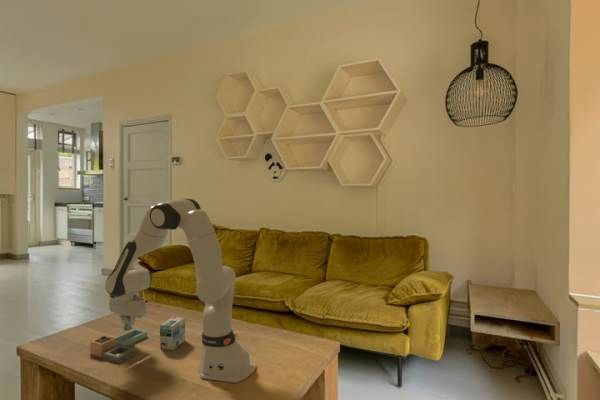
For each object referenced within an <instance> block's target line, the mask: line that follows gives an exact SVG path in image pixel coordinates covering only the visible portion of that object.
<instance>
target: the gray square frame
mask: <svg viewBox="0 0 600 400" xmlns="http://www.w3.org/2000/svg"><path fill="white" fill-rule="evenodd" d="M117 352H123V353H121V354H119V355H115V354H114V353H117ZM136 352H137V351H136V348H132V347H129V346H127V347H125V346H121V345H118V346H116V347H113V348H111V349H109V350H107V351H105V352H103V353H102V357H101V359H103V360H106V361H110V362H114V363H116V364H120V363H121V362H124V361H126V360H128V359H130V358H132V357H133V356H136V354H137V353H136Z"/></svg>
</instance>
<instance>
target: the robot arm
mask: <svg viewBox="0 0 600 400" xmlns="http://www.w3.org/2000/svg"><path fill="white" fill-rule="evenodd" d="M139 226H140V227H139V229H138V231H137V233H136V234H135V235H134V236H133V238H132V239H131V240H130V241H128V242H127V243H126V244H125V246H124V248H123V249H122V252H121V254H120V255H119V258H118V260H117V262H116V263H115V266H114V268H113V270H112V271H111V273H110V274H109V276H108V277H107V279H106V281H105V290H106V292H107V293H108V294H109V295H108V296H109V297H108V298H109V301H108V306H109V307H108V308H109V311H110V313H113V314H118V315H119V318H120V320H121V324H122V325H124V316H126V315H127V316H130V318H131V321H129V325H131V326H132V327H133V326H134V325H135V321H136V319H142V318H144V317H146V315H147V313H148V312H147V304H146V299H144V297H143V296H140V295H139V291H143V290H147V289H149V288H150V286H151V285H152V282H153V274H152V272H151V271H150V270H149V269H148V268H145V267H143V266H141V264H139V260H138V258H140V257H142V256H144V255H146V254H149V253H150V252H153V251H155V250H158V249H159V248H161V247H162V246H163V244H164V243H165V241H166V238H167V235H168V231H169V230H173V231H174V230H175V231H176V230H177V229H178V228H180V229H182V230H183V233H184V234H185V237H186V239H187V244H188V246H189V250H190V252H191V255H192V259H193V262H194V270H195V277H196V289H195V292H196V296H197V298H198V299H199V300H200V301H201V302H202V303H204V309H203V313H202V333H201V342H202V343H201V344H202V349H201V358H200V362H199V366H198V371H199V373H200V376H199V377H200V379H204V380H212V381H219V382H226V383H236V384H238V383H240V382H242V381H244V380H246V379H247V378H249V377H250V376H251V375H252V374H253V373H254V372H255V371H256V367H257V365H256V363H255V362H253V361H251V359H250V354H249V351H248V350H247V349H245V347H244V346H242V345H241V343H239V342H238V341H237V340H236V337H238V333H237V332H236V333H234V330H233V328H232V327H233V325H232V324H233V322H232V320H233V319H232V315H233V313H232V312H233V303H234V295H235V287H236V286H235V285H236V284H235V283H236V278H237V277H236V272H235V270H234V269H233V268H232V267H231V266H228V265H223V259H222V254H223V253H222V252H223V251H222V248H221V246H220V242H219V239H218V236H217V233H216V230H215V227H214V226H213V222H212V221H211V219H210V217H209V216H208V214H207V212H206V211H205V210H202V208H201V206H200V204H199V203H198V201H197V200H195V199H192V198H184V199H172V200H167V201H164V202H159V203H157V204H155V205H151V206H150V207H148V209H147V210H146V212H145V214H144V215H143V218H142V221H141V223H140V225H139Z"/></svg>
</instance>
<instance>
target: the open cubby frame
mask: <svg viewBox="0 0 600 400" xmlns="http://www.w3.org/2000/svg"><path fill="white" fill-rule="evenodd" d="M106 336H107V337H108V341H106V342H104V343H99V338H100V337H99V338H95V339H93V340H91V341H90V344H89V345H90V347H89V349H90V353H89V354H90V355H94V356H97V357H100V358H102V353H103V352H105V351H107V350H109V349H111V348H113V347H116V338H115V337H113V336H112V337H111V336H109V335H106Z"/></svg>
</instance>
